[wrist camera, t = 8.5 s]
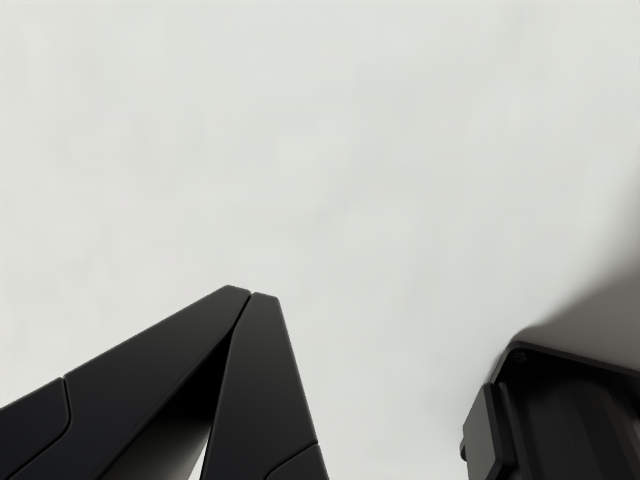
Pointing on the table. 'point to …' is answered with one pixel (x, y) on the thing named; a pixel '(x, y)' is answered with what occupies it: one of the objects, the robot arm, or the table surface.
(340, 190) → the table surface
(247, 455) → the robot arm
